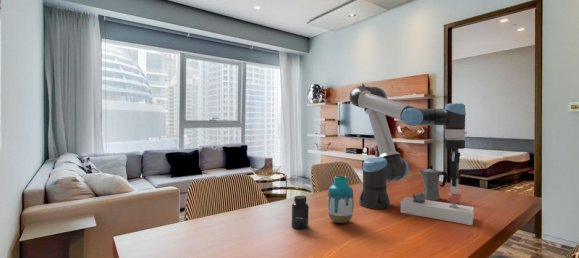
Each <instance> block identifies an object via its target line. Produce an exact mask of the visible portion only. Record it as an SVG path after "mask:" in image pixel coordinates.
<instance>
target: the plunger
mask: <svg viewBox="0 0 579 258" xmlns="http://www.w3.org/2000/svg"><path fill="white" fill-rule="evenodd" d="M412 196H413V197H412V198H413V201H415V202H418V203H422V202H425V200H426V199H425V194H423V192H421V193H420V192H414V193H413V194H412Z"/></svg>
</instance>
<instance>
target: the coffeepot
mask: <svg viewBox="0 0 579 258" xmlns="http://www.w3.org/2000/svg"><path fill="white" fill-rule="evenodd" d="M433 167H434V165H429V168H426V169H424V168H423V169H419V172H420V173H421V175H422V178H423V179H422V181H423V183H424V184H423V191H422V194H425V200H430V201H439V200H440V199H441V198H440V197H441V196H440V192H439V191H440V190H439V187H443V188H444V187H445V185H446V183H447V181H448V179H449V175H448V173H447V172H446V171H442V170H441V171H440V170H437V169H434V168H433ZM440 176H443V180H442V184H439V180H440ZM438 185H439V186H438Z"/></svg>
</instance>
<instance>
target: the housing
mask: <svg viewBox="0 0 579 258" xmlns="http://www.w3.org/2000/svg"><path fill="white" fill-rule="evenodd" d="M474 211H475V209H474V206H468V205H463V204H457V209H456V208H451V202H450V203H449V202H442V201H437V200H428V199H425V202H422V203H418V202H415V201H413V197H410V196H405V197H404V198H403V199H402V200H401V201H400V213H402V214H408V215H413V216H417V217H418V216H419V217H424V218H425V217H426V218H429V219H436V220H441V221H445V222H446V221H447V222H451V223H452V222H453V223H458V224H463V225H469V226H473V223H474V218H475V217H474V215H475V212H474Z"/></svg>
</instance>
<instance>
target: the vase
mask: <svg viewBox="0 0 579 258" xmlns="http://www.w3.org/2000/svg"><path fill="white" fill-rule="evenodd" d="M327 192H328V193H327V212H328V216H329V219H330V220H331V221H332V222H334V223H337V224H347V223H349V222H350V221H351V220H352V219H353V216H354V215H353V214H354V190H353V188H352V187H351V186H350V185H349V184H348V177H347V175H346V176H345V175H334V177H333V184H331V185H330V186H329V188H328V191H327Z"/></svg>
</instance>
